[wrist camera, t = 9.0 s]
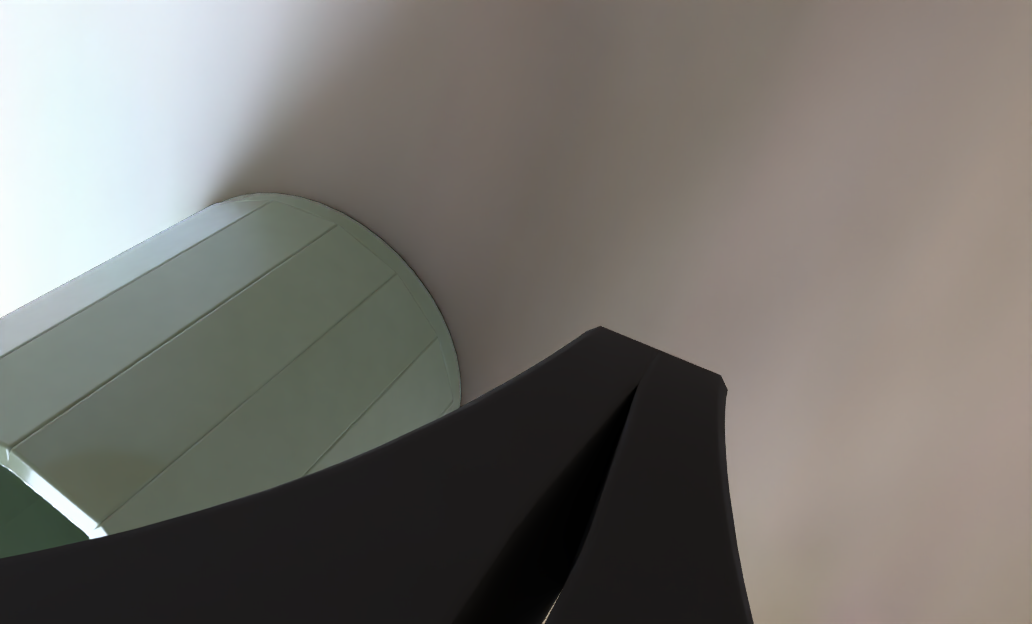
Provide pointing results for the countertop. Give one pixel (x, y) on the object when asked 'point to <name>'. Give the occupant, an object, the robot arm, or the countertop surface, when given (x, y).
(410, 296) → the green mug
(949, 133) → the countertop surface
